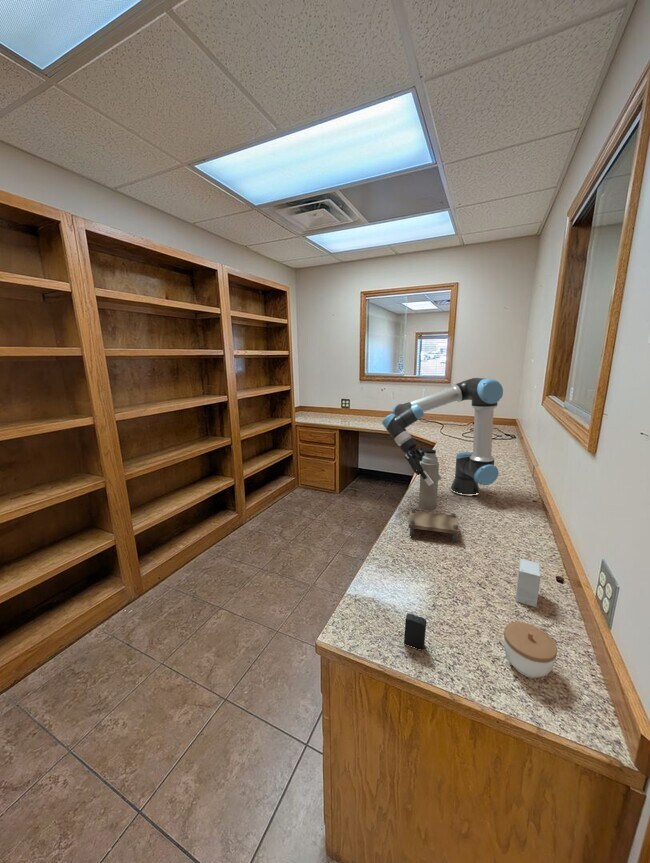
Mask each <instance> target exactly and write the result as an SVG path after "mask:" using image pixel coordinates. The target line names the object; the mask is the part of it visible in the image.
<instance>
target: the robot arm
mask: <svg viewBox="0 0 650 863" xmlns="http://www.w3.org/2000/svg"><path fill="white" fill-rule="evenodd" d="M503 394H504V387H503V386H502V383H500V382H499V380H496V379H493V378H491V377H490V378H487V377H472V378H469V379H465V380H463V381H461V382H458V383H455V384H453V385H452V386H451V387H449V388H447V389H443V390H440V391H438V392H435V393H431V394H428V395H426V396H422V397H420V398H417V399H415V400H414V399H413V400H411V401H408V402H406V403H398V404H395V405H394V406H393V408H392V413H390V414H388V415H387V416H385V417H384V418H383V420H382V423H381V424H382V426H383V427H384V428H385V430H386V431H387V432H388V434H389V435H390V436H391V438H393V441H394V442H395V444H397V446H398V447H399V448H400V450H401V451H402V453H404V454H405V455H404V459H406V460H407V462H408V464H409V466H410V467H411V469H412V470H413V472H414V473H415V475H417V476H420V475H421V476H422V478H423V479H424V480H425V481H426V483H427V484H428V485H429V486H430V485H431V484H433V483H434V482H433V481H432V479H431V478H430V477H429V475H428V474H427V473H426V472H425V471H423V469H422V466H421V461H422V458H423V456H425V450H424V448H422V447H421V448H420V449H419V448H418V447H417V442H416V441H415V439H414V438H412V435H411V434H410V432H408V430H407V429H406V428H408V427H409V426H411V425H413V424H414V423H415V422H417V421H419V420H421V418H423V417H424V416H425V412H427V411H431V410H432V409H437V408H439V407H442V406H446V405H448V404H451V403H455V402H458V403H459V402H462V401H471V407H472V408H473V409H474V416H473V417H474V421H473V444H472V445H473V446H472V448H473V449H472V451H469V452H468V451H462V452H460V451H459V452H458V453H456V457H455V472H454V479H453V480H452V483H451V484H450V490H451V489H452V490H453V491H455V492H458V493H462V494H476V493H479V494H480V492H479V491H480V487H479V485H481V486H489V485H491V484H492V485H493V483H494V482H495V481H496V480H497V479H498V477H499V474H500V473H499V469H498V468H497V466H496V465H495V457H493V456H492V455H493V454H492V451H493V450H492V448H493V430H494V429H493V428H494V427H493V426H494V410H495V409H496V407H498V403H499V401H500V400H501V399H502V398H503ZM441 479H443V476H442V475H441V474H440V473H438V482H439V481H440V480H441Z"/></svg>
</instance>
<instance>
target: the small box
mask: <svg viewBox="0 0 650 863" xmlns="http://www.w3.org/2000/svg"><path fill="white" fill-rule="evenodd" d="M541 576H542V575H541V564H540V563H539V562H536V561H531V560H527V559H524V558H519V561H518V569H517V578H516V586H515V587H516V589H515V590H516V591H515V602H516V603H517V602H518V603H520V604H524V605H526V606H530V607H534V608H538V600H539V591H540V583H541V578H542V577H541Z"/></svg>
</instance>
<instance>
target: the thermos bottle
mask: <svg viewBox="0 0 650 863" xmlns="http://www.w3.org/2000/svg"><path fill="white" fill-rule="evenodd" d="M424 452H425V456H423V458H422V461H420V464H421V466H422V469H423V471H425V472H426V473H427V474H428V475H429V477H430V478H431V479H432V481H433V482H434V483H433V484H431V485H430V486H429V485H428V484H427V483H426V481H425V480H424V479H423V478H422V476H421V475H420V474H419V495H418V496H419V497H418V498H419V500H418V508H419V509H420V510H421V511H424V512H425V511H426V512H434V511H436V510H437V507H438V489H439V488H438V487H439V484H438V483H439V481H438V473H439V470H440V469H439V468H440V467H439V466H440V462H439V461H438V460H439V459H438V456H437V451H436V450H435V449H430V448H429V449H428V448H427V449H425V450H424ZM439 474H440V473H439Z"/></svg>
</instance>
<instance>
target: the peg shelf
mask: <svg viewBox="0 0 650 863" xmlns="http://www.w3.org/2000/svg"><path fill="white" fill-rule="evenodd" d="M408 528H409V537H410V536H411V537H410V538H414V537H415V530H416V529H417V530H421V531H422V530H423V531H431V532H441V533H446V534H447V533H448V534H452V538H451V539H452V540H451V542H452V543H453V544H457V543H458V535H460V533H461V530H460V525H459V520H458V515H457V514H456V513H453V512H452V513H451V514H445V513H437V512H435V513H434V512H429V511H426V512H425V511H418V510H416V509H415V508H411V510H409V517H408ZM413 536H414V537H413Z"/></svg>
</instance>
